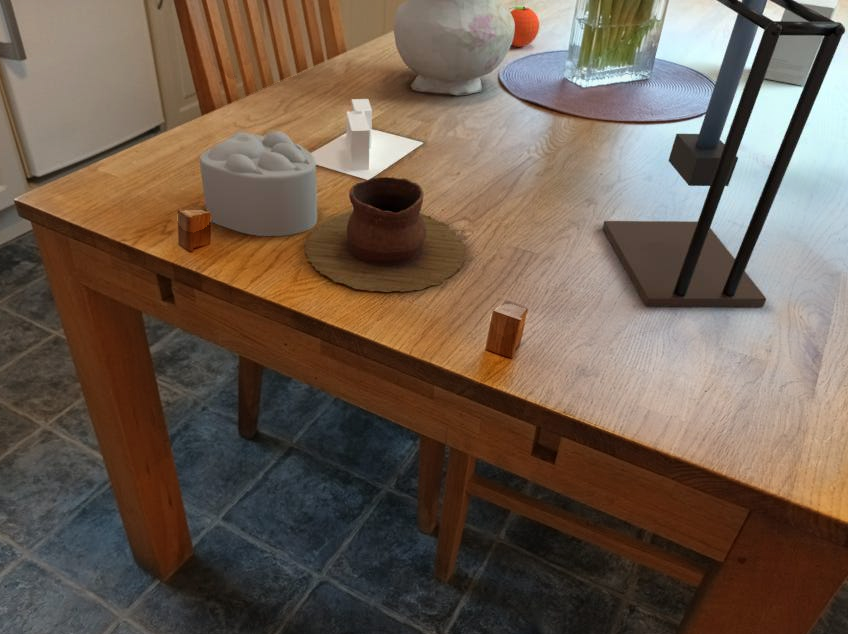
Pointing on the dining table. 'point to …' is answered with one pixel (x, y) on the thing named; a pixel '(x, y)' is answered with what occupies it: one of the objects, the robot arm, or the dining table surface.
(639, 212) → the dining table surface
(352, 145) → the napkin holder
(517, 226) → the dining table surface
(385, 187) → the ceramic pot
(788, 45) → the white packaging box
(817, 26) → the desk lamp
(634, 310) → the dining table surface
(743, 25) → the brush
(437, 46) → the grey round vase
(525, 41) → the clementine
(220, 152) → the lumpy-topped squat cylinder
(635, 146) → the dining table surface
